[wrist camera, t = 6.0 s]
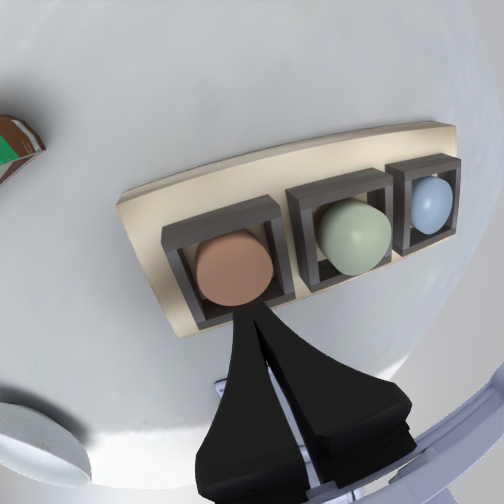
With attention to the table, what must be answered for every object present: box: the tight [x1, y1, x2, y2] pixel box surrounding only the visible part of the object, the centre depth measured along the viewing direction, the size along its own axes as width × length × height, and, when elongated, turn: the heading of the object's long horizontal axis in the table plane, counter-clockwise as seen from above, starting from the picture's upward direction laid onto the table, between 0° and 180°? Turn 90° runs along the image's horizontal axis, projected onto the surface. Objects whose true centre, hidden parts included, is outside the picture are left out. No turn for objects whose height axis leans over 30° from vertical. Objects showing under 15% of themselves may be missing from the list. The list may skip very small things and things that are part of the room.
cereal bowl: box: [0, 403, 92, 488], centre depth 21 cm, size 17×17×7 cm
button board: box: [116, 121, 461, 339], centre depth 18 cm, size 10×24×4 cm, turn 102°
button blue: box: [411, 175, 453, 234], centre depth 17 cm, size 4×4×2 cm
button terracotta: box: [195, 228, 273, 306], centre depth 16 cm, size 4×4×2 cm
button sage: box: [317, 198, 391, 276], centre depth 16 cm, size 4×4×2 cm
